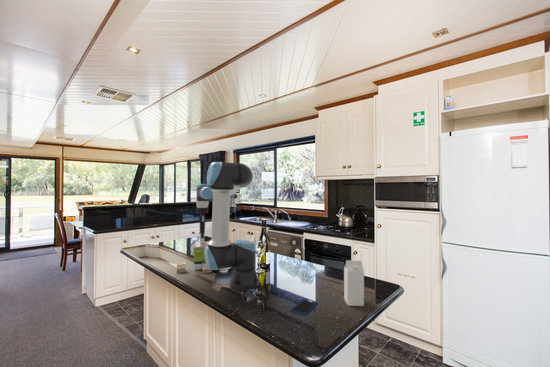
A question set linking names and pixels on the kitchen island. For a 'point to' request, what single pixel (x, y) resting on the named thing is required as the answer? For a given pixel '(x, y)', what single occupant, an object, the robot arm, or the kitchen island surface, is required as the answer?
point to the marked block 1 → (181, 267)
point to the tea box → (199, 254)
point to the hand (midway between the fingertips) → (201, 242)
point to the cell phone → (304, 307)
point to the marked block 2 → (205, 268)
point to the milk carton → (354, 283)
